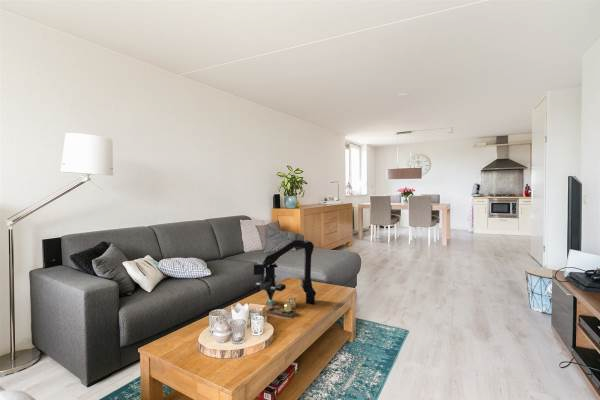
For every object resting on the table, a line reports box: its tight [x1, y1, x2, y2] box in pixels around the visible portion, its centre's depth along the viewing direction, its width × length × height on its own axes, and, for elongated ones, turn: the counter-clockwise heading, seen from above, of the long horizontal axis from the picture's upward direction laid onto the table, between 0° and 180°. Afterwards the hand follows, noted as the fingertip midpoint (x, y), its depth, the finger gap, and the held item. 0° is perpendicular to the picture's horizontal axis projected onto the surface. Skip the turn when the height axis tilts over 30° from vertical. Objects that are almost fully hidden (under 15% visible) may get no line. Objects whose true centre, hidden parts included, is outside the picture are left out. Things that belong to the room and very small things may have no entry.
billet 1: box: [283, 302, 292, 315], centre depth 176 cm, size 4×4×6 cm
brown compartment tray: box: [265, 306, 299, 320], centre depth 178 cm, size 11×17×3 cm, turn 63°
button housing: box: [265, 300, 277, 307], centre depth 192 cm, size 4×4×3 cm
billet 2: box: [288, 297, 297, 310], centre depth 187 cm, size 4×4×6 cm
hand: (270, 299), depth 192 cm, fingers closed, pressing on start button
